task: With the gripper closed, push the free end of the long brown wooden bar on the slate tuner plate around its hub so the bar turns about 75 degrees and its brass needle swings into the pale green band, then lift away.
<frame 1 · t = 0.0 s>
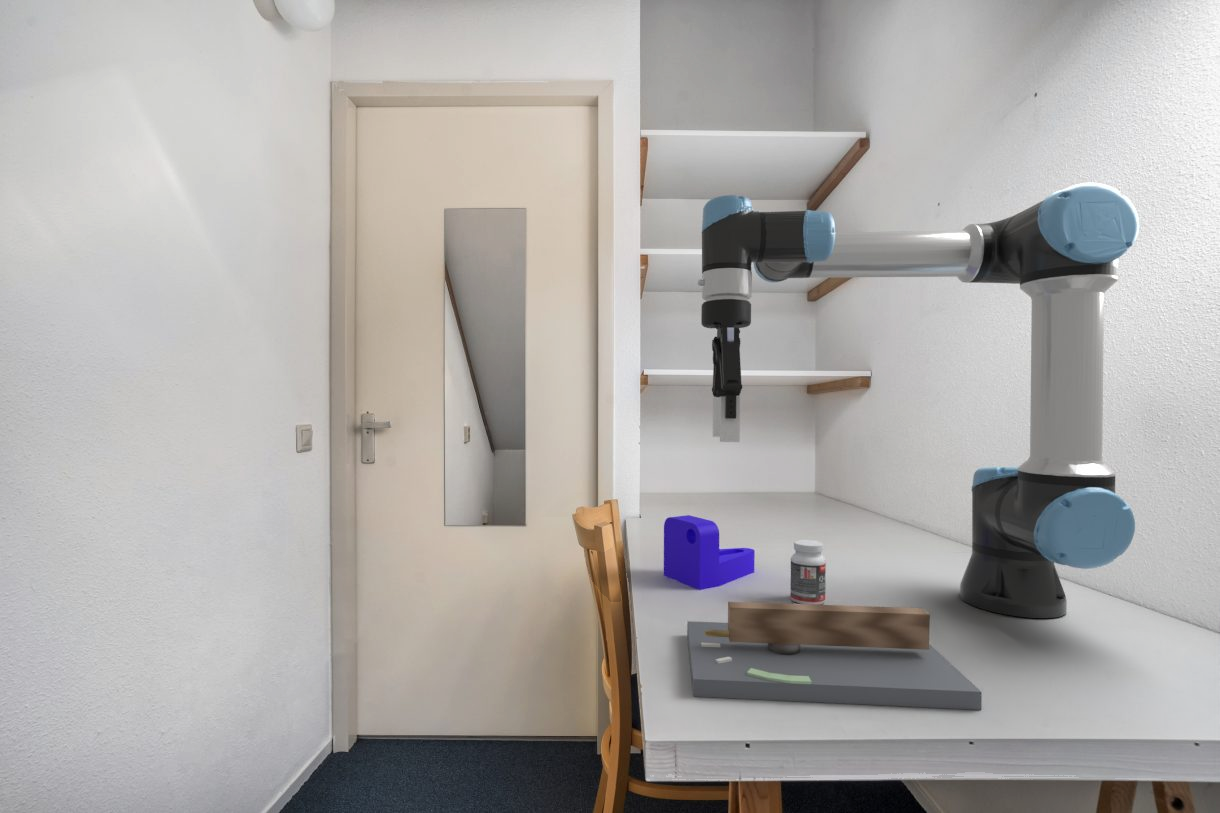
hand: (725, 439, 97), 28 cm above the table, fingers open, 13 cm apart
tuner plate: (783, 664, 81), on the table
bracket: (717, 577, 122), on the table
brown wooden bar: (813, 628, 80), point 5 cm above the table, hinge at 0.0°
pill bottle: (807, 602, 107), on the table
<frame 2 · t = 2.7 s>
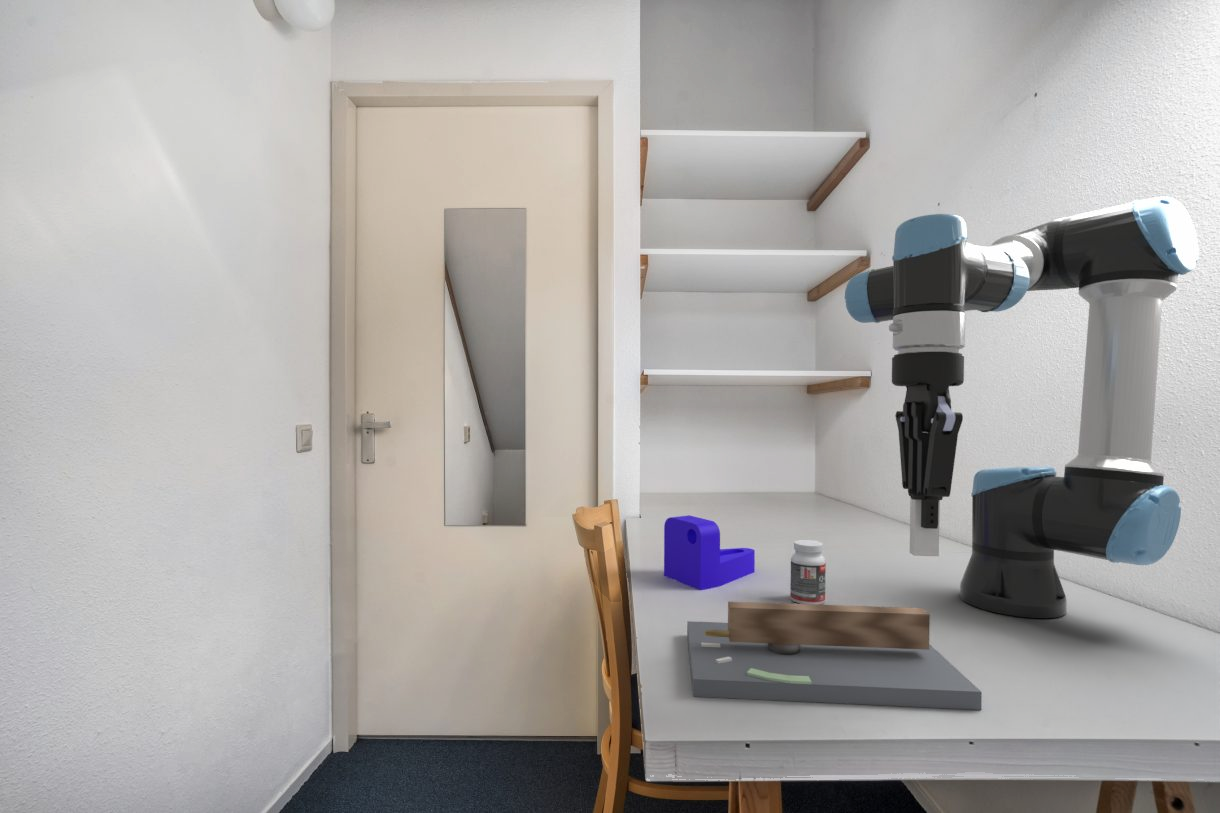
hand: (924, 554, 73), 16 cm above the table, fingers closed
nothing on the table moved.
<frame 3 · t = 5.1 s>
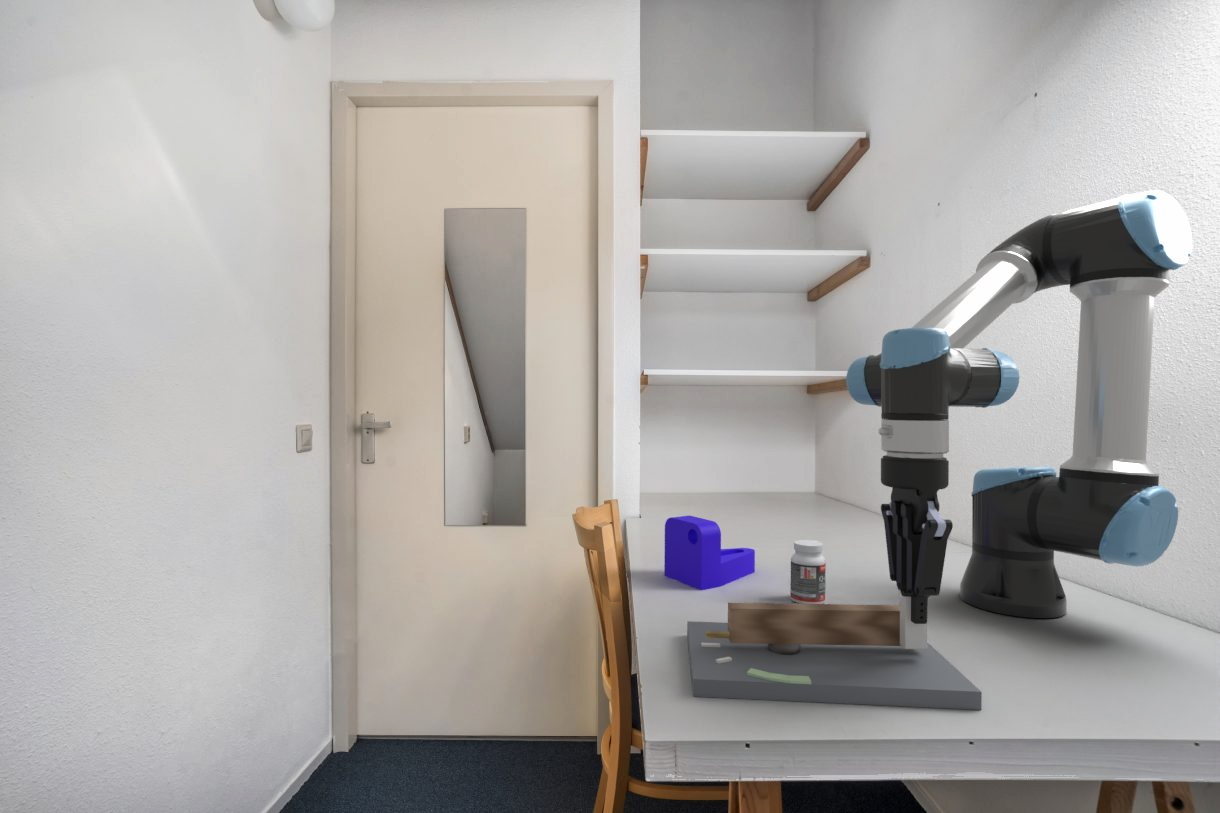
hand: (913, 646, 77), 4 cm above the table, fingers closed
brown wooden bar: (813, 627, 81), point 5 cm above the table, hinge at 3.5°, touching gripper
everything else where it was.
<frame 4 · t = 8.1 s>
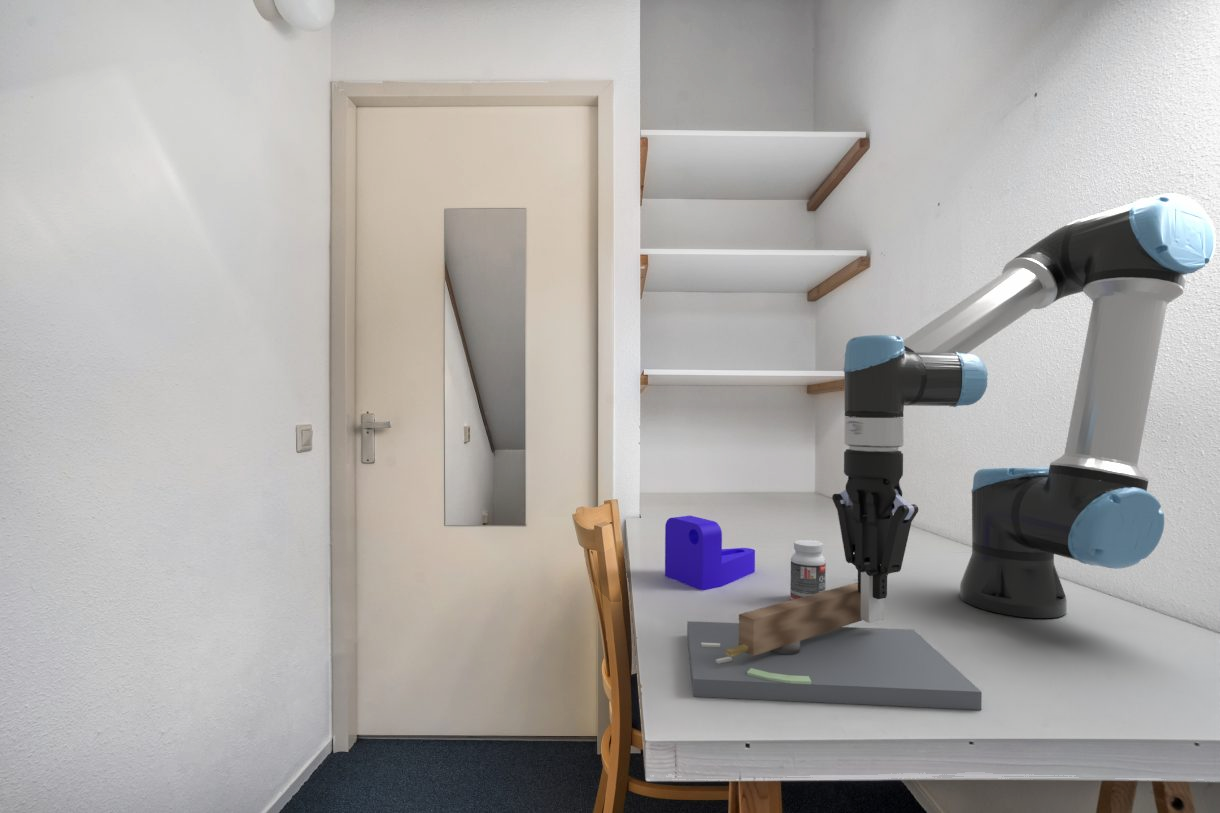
hand: (871, 619, 87), 4 cm above the table, fingers closed
brown wooden bar: (802, 621, 83), point 5 cm above the table, hinge at 39.8°, touching gripper
everything else where it was.
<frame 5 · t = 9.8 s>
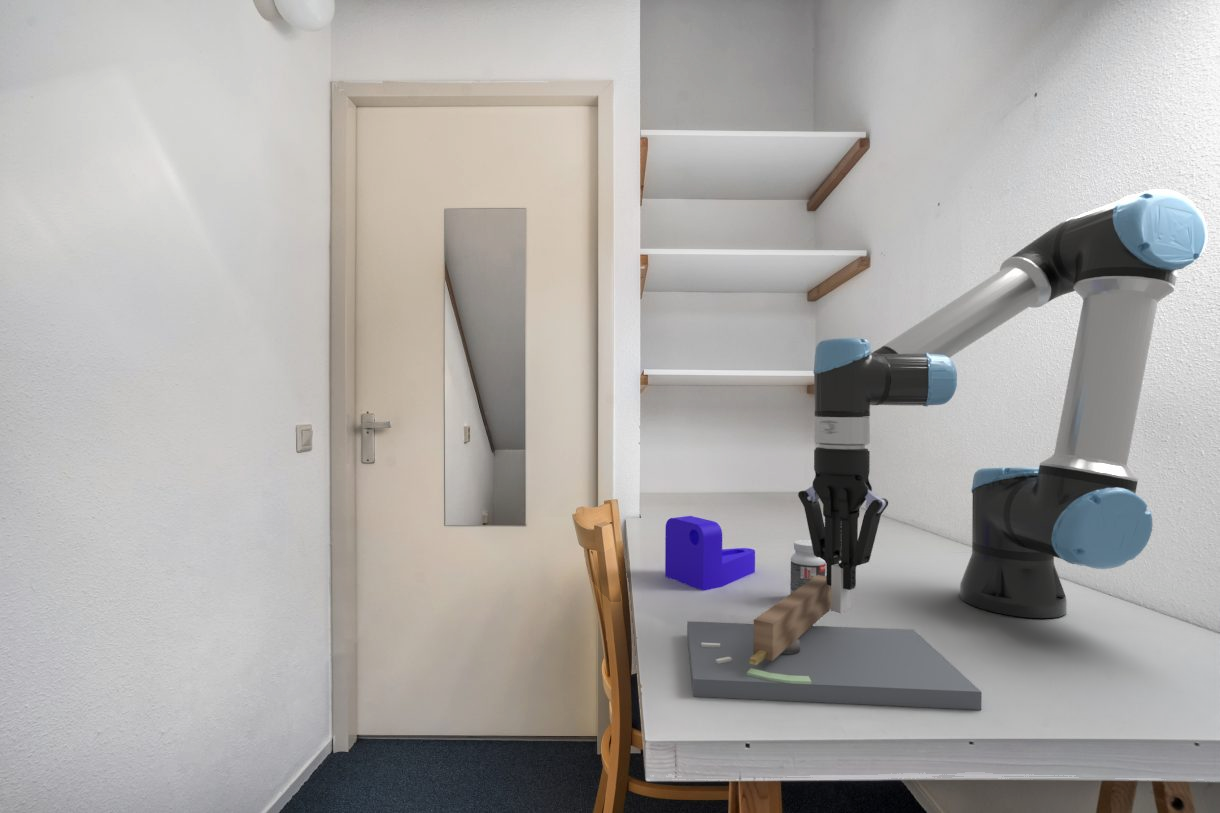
hand: (840, 609, 91), 4 cm above the table, fingers closed
brown wooden bar: (794, 619, 84), point 5 cm above the table, hinge at 59.3°, touching gripper
everything else where it was.
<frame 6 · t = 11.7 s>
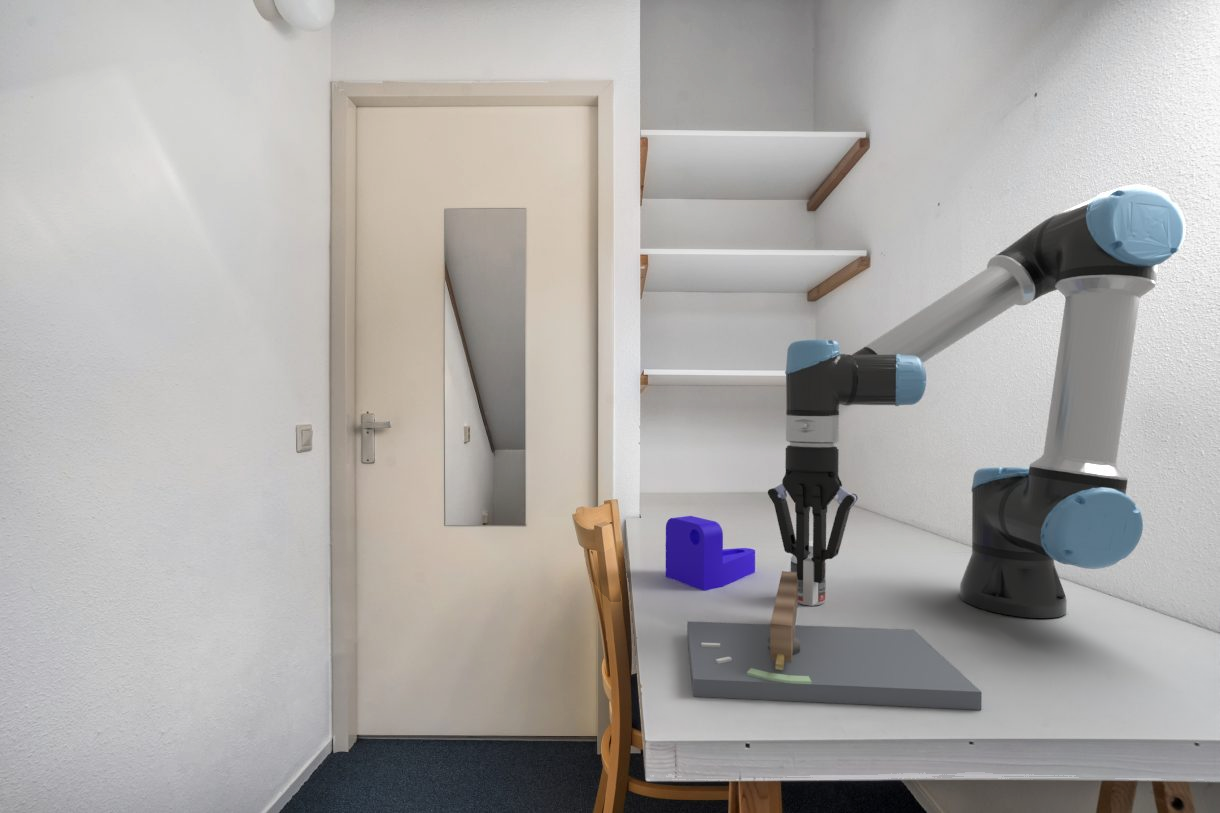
hand: (810, 602, 94), 4 cm above the table, fingers closed
brown wooden bar: (785, 617, 84), point 5 cm above the table, hinge at 76.6°, touching gripper
everything else where it was.
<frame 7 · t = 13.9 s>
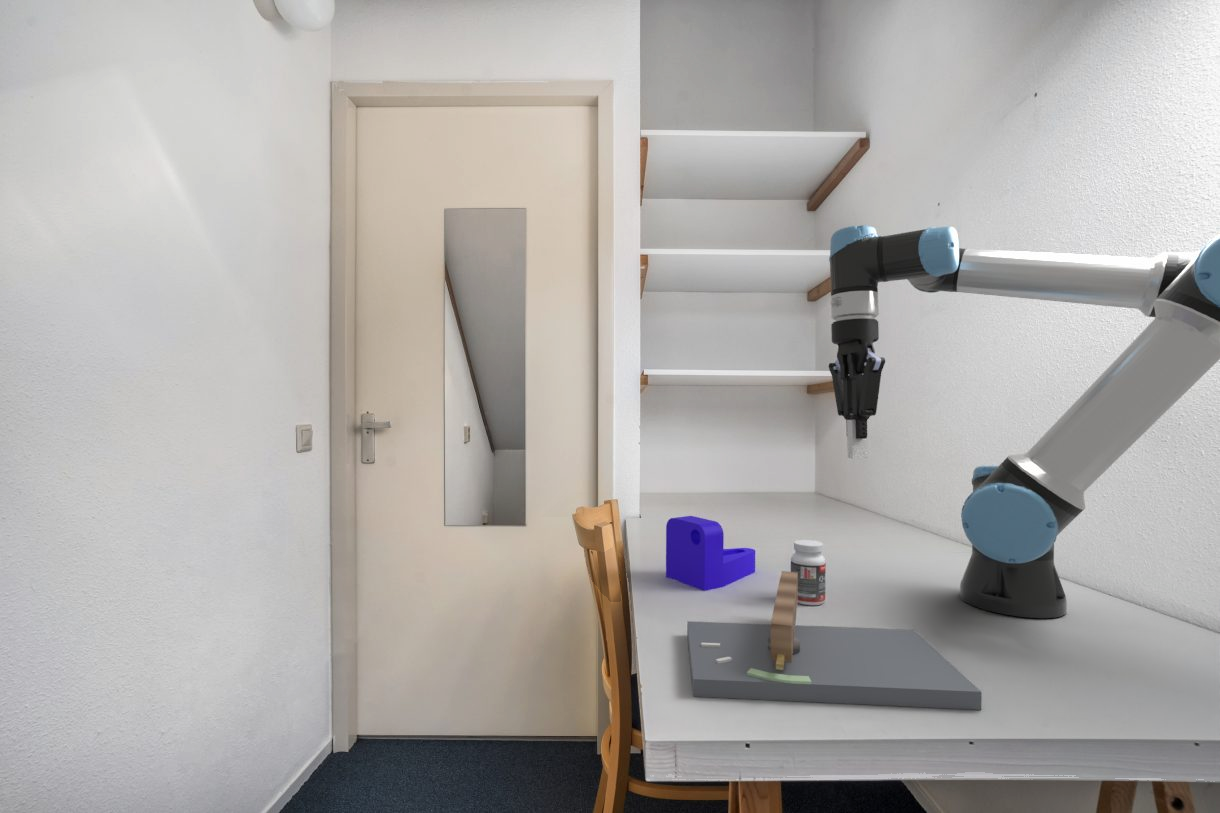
hand: (857, 457, 107), 24 cm above the table, fingers closed
brown wooden bar: (785, 617, 84), point 5 cm above the table, hinge at 76.8°
everything else where it was.
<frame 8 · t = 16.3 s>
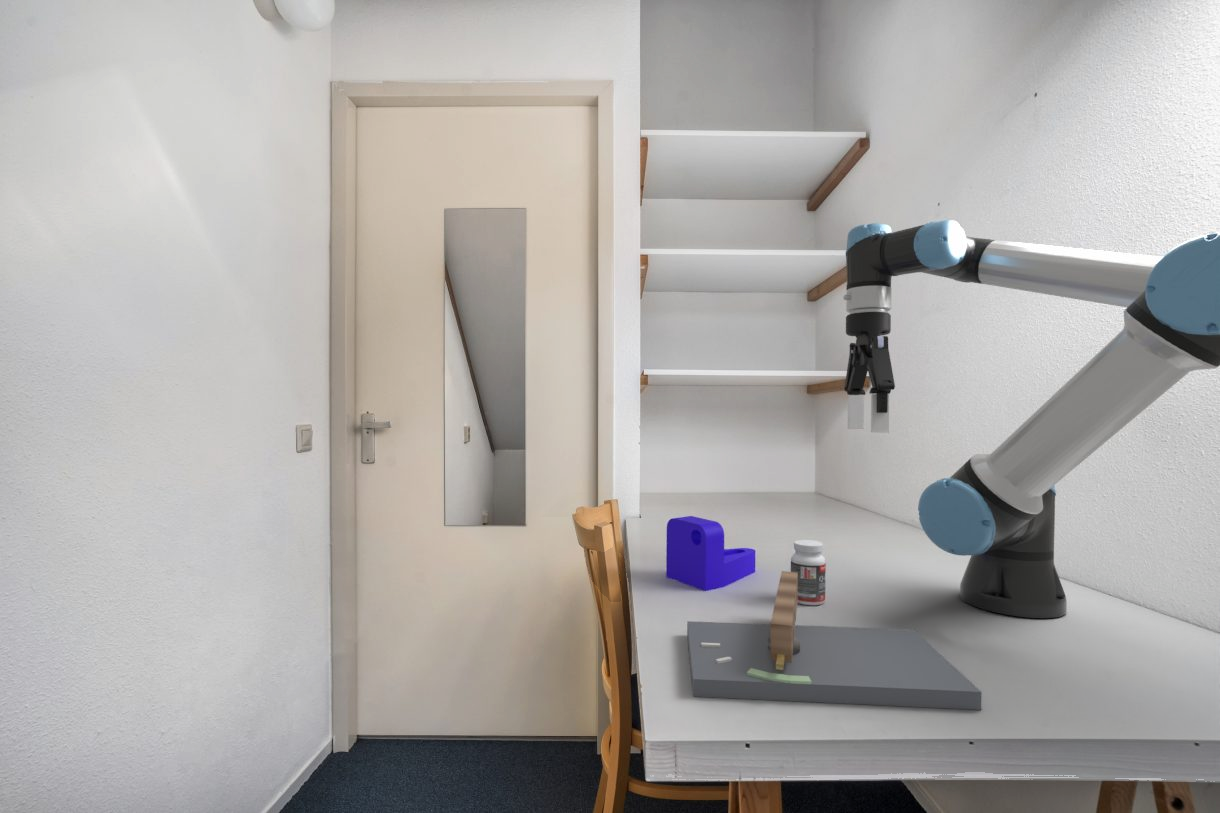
hand: (866, 430, 114), 29 cm above the table, fingers open, 13 cm apart
nothing on the table moved.
at the end: brown wooden bar at +77° (first picture: +0°); the gripper is holding nothing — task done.
